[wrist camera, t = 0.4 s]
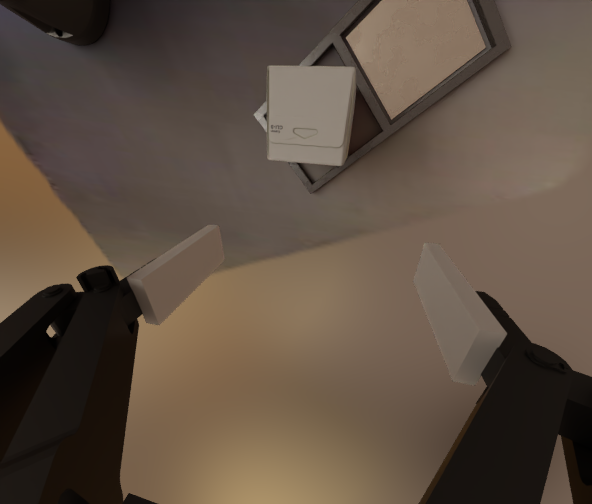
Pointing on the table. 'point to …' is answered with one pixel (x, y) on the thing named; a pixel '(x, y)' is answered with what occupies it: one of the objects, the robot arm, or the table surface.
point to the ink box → (310, 113)
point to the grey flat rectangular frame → (406, 58)
